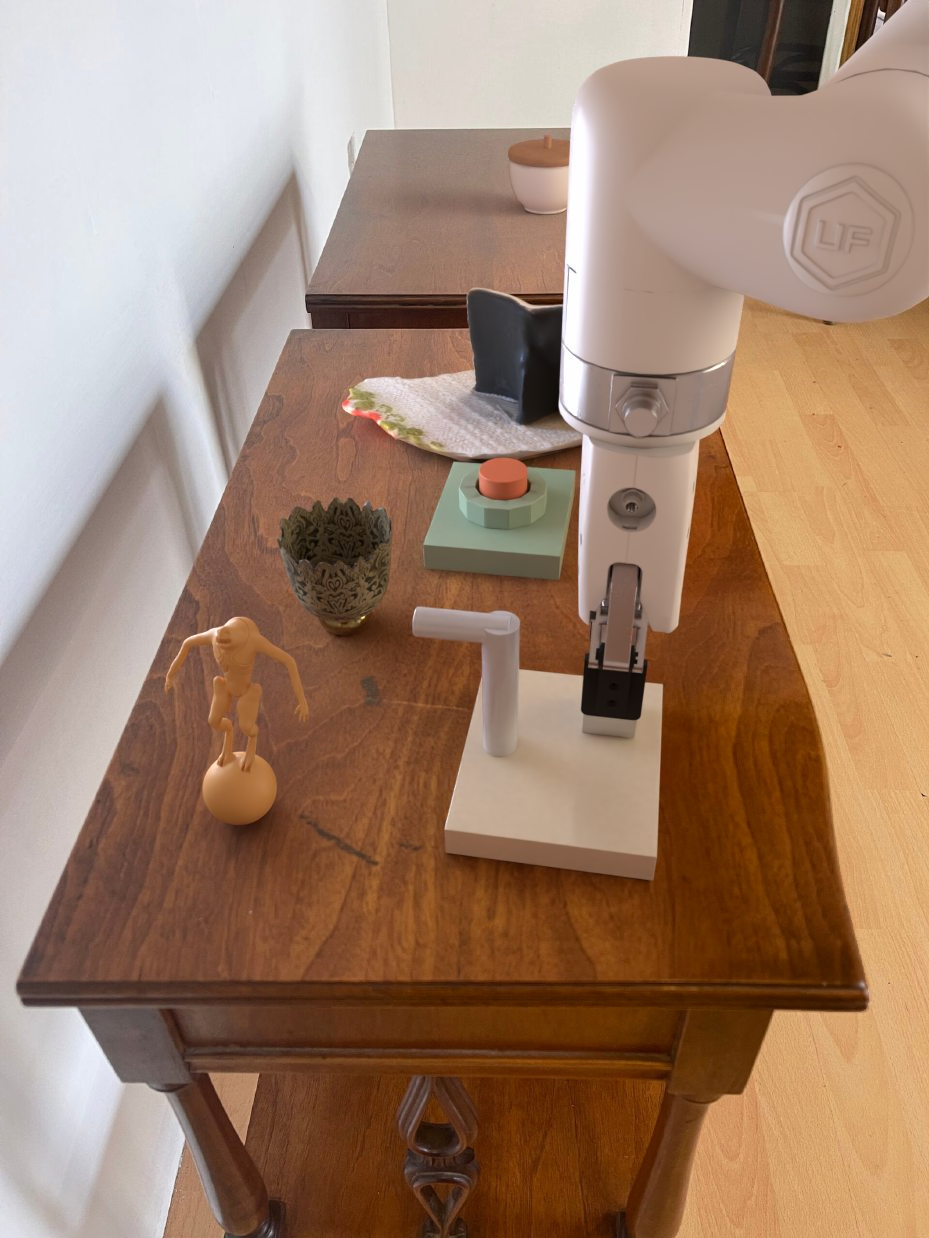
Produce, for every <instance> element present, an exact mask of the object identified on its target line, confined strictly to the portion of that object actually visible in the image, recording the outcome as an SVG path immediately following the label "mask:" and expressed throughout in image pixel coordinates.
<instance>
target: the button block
mask: <svg viewBox="0 0 929 1238" xmlns="http://www.w3.org/2000/svg"><path fill="white" fill-rule="evenodd" d="M482 464H483V463H480V462H460V461H453V463H452V465H451V468H450V471H449V473H448V476H447V478H446V482H445V484H444V487H443V488H442V489H443V490H442V492H441V495H440V498H439V499H438V503H437V506H436V508H435V511H434V514H433V516H432V518H431V519H432V520H431V522H430V524H429V527H428V530H427V533H426V536H425V538H424V541H423V544H422V549H423V551H422V552H423V568H424V569H429V570H439V571H451V572H460V573H472V574H484V575H495V576H505V577H515V578H517V577H518V578H528V579H538V580H539V579H540V580H549V581H560V577H561V571H562V566H563V560H564V555H565V549H566V545H567V539H568V531H569V525H570V521H571V516H572V509H573V503H574V498H575V491H576V490H575V489H576V472H577V471H576V470H573V469H560V468H559V469H558V468H546V467H532V466H526V467H527V492H526V494H525V495H524V496H522V497H521V498H517V499H512V500H508V501H502V500H492V499H489V498H487V497H485V496H482V494H481V493H480V490H479V469H480V466H481V465H482Z"/></svg>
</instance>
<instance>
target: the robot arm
mask: <svg viewBox="0 0 929 1238" xmlns="http://www.w3.org/2000/svg"><path fill="white" fill-rule="evenodd" d="M569 137H570V138H569V141H570V157H569V181H568V204H567V209H566V228H565V231H566V232H565V254H564V275H563V277H564V279H563V302H562V305H563V321H562V342H561V365H560V388H559V410H560V414H561V415H562V416H563V418H564V420H565V421H566V422H567V423H568V424H569V425H570V426H572V427H573V428H574V429H576V430H577V431H579V432H581V433H583V444H582V446H581V460H580V461H581V463H580V482H579V483H580V486H579V487H580V489H579V505H578V507H579V508H578V541H577V542H578V544H577V545H578V546H577V547H578V548H577V549H578V551H577V552H578V553H577V554H578V555H577V559H578V560H577V577H578V578H577V579H578V580H577V581H578V589H577V590H578V596H577V597H578V617H579V618H580V619H581V620H582V622H583V623H584V624H586V625H587V626H588V627H589V626H590V629H589V642H590V643H589V652H585V653H584V661H583V662H584V663H583V675H582V676H583V687H582V700H581V712H582V713H583V714H585V715H588V716H597V717H606V718H615V719H624V720H638V719H639V718H640V717H641V711H642V703H643V696H644V688H645V682H646V681H647V673H648V662H649V660H648V658H645V654H646V644H647V637H648V636H647V635H648V627H650V629H651V631H652V632H655V633H664V634H671V633H672V632H674V631H675V630H676V629H677V627H678V626H679V621H680V611H681V603H682V593H683V585H684V580H685V579H684V578H685V577H684V576H685V569H686V563H687V555H688V547H689V540H690V532H691V526H692V517H693V511H694V503H695V495H696V486H697V478H698V477H697V476H698V467H699V454H700V441H701V440H702V439H703V440H704V438H707V437H708V436H711V435H712V434H713V433H715V432H716V431H718V430H719V428H720V427H721V426H722V425H723V424H724V421H725V420H726V416H727V415H726V414H727V410H728V402H729V398H730V397H729V396H730V391H731V385H732V379H733V373H734V366H735V359H736V354H737V348H738V345H737V344H738V338H739V333H740V327H741V321H742V320H741V319H742V315H743V307H744V303H745V297H747V298H751V299H754V300H757V301H758V302H759V301H760V302H762V303H765V304H768V305H770V306H773V307H776V308H778V309H782V310H785V311H788V312H790V313H794V314H797V315H800V316H804V317H808V318H812V319H815V320H820V321H826V322H833V323H841V324H842V323H844V324H858V323H860V324H861V323H870V322H876V321H879V320H883V319H888V318H892V317H894V316H898V315H900V314H902V313H904V312H905V311H906V312H907V311H908V310H910V309H912V308H913V307H915V306H917V305H918V304H920V303H921V302H923V301H925V300H926V299H928V298H929V0H906V1H905V3H903V5H901V7H899V8H898V10H896V12H894V13H893V14H892V15H891V16H890V17H889V19H887V20H886V22H884V23H883V24H882V25H881V26H880V27H879V29H878V30H876V31H875V33H873V34H872V35H871V36H870V38H868V39H867V41H865V42H864V43H863V44H862V45H861V46H860V47H859V48H858V49H857V50H856V51H855V52H854V53H853V54H852V55H851V56H850V57H849V58H848V59H847V60H846V61H845V62H844V63H843V64H842V65H841V66H840V67H839V68H838V69H837V70H836V71H835V72H834V73H833V74H832V75H831V76H830V77H829V78H828V79H827V80H826V81H825V82H824V83H823V84H822V85H821V86H820V87H819V88H818V89H817V90H813V91H811V92H808V93H804V94H801V95H772V92H771V89H770V87H769V86H768V83H767V82H766V81H765V79H764V78H763V77H762V75H760V74H759V73H758V72H757V71H755V70H754V69H751V68H749V67H748V66H744V65H743V64H740V63H737V62H734V61H729V60H725V59H719V58H712V57H702V56H687V55H683V56H682V55H667V56H663V55H662V56H647V57H638V58H629V59H623V60H620V61H616V62H613V63H610V64H608V65H605V66H603V67H600V68H597V69H596V70H595V71H594V72H593V73H591V74H590V75H589V76H588V77H587V78H586V79H585V81H584V82H583V83H582V85H581V86H580V88H579V89H578V92H577V94H576V97H575V99H574V104H573V107H572V114H571V122H570V136H569ZM603 600H609V606H602V602H603ZM635 603H640V609H635ZM602 625H607V630H606V641H605V642H601V636H602ZM633 628H636V637H635V645H631V643H632V633H633Z"/></svg>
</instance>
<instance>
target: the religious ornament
mask: <svg viewBox="0 0 929 1238" xmlns="http://www.w3.org/2000/svg"><path fill="white" fill-rule="evenodd" d="M466 309H467V318H466V319H467V324H468V334H469V341H470V347H471V352H472V363H473V365H472V366H473V368H474V369H467V370H464V371H463V370H462V371H461V370H460V371H458V372H455V373H453V372H450V373H449V372H447V373H442V374H438V375H436V376H426V377H419V378H417V377H415V378H402V377H400V376H399V375H398V376H394V377H391V376H381V377H380V376H379V377H373V378H370V377H369V378H366V379H364V380H363V381H361V382H358V384H357V385H355V386H353V387H351V388H349V389H348V391H349V395H348V397H347V398H346V400H344V401H343V402H342V404H341V407H342V409H343V411H345V412H346V413H348V414H350V415H352V416H355V417H359V418H365V419H369V420H373V421H375V423H376V424H377V425H378V426H379V427H380V428H381V429H383V431H385V432H386V433H387V434H388V435H389V436H391V437H393V439H394V440H399V441H403V442H405V443H407V444H409V445H411V446H414V447H416V448H419V449H421V450H424V451H427V452H431V453H434V454H437V455H441V456H444V457H448V458H450V459H453V460H456V461H457V462H465V463H485V462H486V461H488V460H491V459H495V458H512V459H516V460H518V461H524V460H530V459H533V458H538V457H543V456H548V455H552V454H557V453H560V452H564V451H569V450H572V449H575V448H579V447H582V444H583V433H581V432H579V431H577V430H576V429H574V428H573V427H572V426H570V425H569V424H568V423H567V422H566V421H565V420H564V418H563V416H562V415H561V414H560V410H559V388H560V365H561V342H562V321H563V304H554V305H534V304H530V303H528V302H526V301H525V300H523V299H521V298H520V297H517V296H514V295H512V294H510V293H506V292H501V291H498V290H493V289H491V288H487V287H486V288H484V287H472V288H471V289H469V290H468V291H467V294H466Z"/></svg>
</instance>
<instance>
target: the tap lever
mask: <svg viewBox="0 0 929 1238" xmlns="http://www.w3.org/2000/svg"><path fill="white" fill-rule="evenodd" d="M602 606H609V600H603V602H602ZM635 609H640V603H635ZM606 630H607V625H602V636H601V642H605V641H606ZM635 637H636V628H633V633H632V643H631V645H635ZM636 723H637V720H624V719H615V718H606V717H597V716H588V715H585V714H583V725H582V732H583V733H592V734H600V735H609V736H618V737H627V738H634V737H635V731H636Z"/></svg>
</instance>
